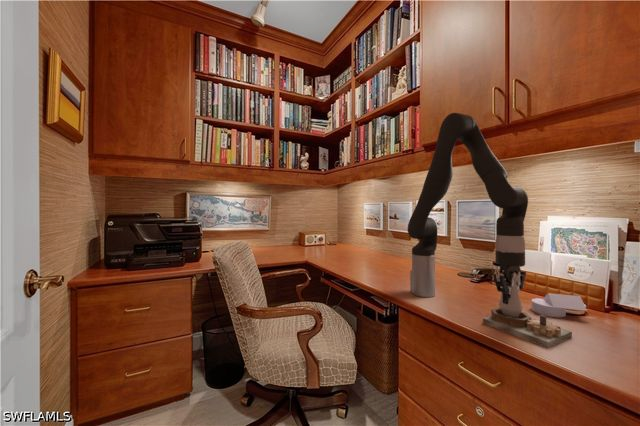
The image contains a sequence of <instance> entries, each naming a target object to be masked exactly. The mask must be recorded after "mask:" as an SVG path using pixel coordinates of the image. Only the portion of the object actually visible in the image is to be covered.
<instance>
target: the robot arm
mask: <svg viewBox="0 0 640 426" xmlns="http://www.w3.org/2000/svg"><path fill="white" fill-rule="evenodd" d="M436 140H437V141H436V145H435V149H434V150H435V151H434V152H433V155H432V158H431V162H430V165H429V168H428V172H427V174H426V177H425V180H424V183H423V185H422V186H423V187H422V189H421V192H420V195H419V198H418V200H417V203H416V206H415V208H414V210H413V212H412V214H411V216H410V219H409V220H408V223H407V234H408V236H409V237H410V238H411V239H413V240H418V242H417V244H415V245H414V246H413V247H412V248H411V270H410V274H409V275H410V277H409V279H410V281H409V282H410V289H409V290H410V293H412V294H413V295H414V296H417V297H420V298H421V297H422V298H432V297H436V257H435V256H436V249H437V246H438V225H437V221H436V220H435V219H433V218H432V217H429V216H430V214H431V212H432V210H433V209H434V207H436V206H437V205H438V203H439V202H440V201H441V200H442V199H443V198H444V197H445V195H446V194H447V193H448V191H449V188H450V185H451V182H452V180H453V174H454V173H453V171H454V170H453V169H454V168H453V161H452V160H453V159H452V157H453V151H454V149H455V146H456V143H457V141H458V142H459V141H460V142H461V143H462V144H463V145H464V146H465V147H466V149H467V150H468V152H469V153H470V154H469V155H470V158H471V163H472V166H473V168H474V170H475V172H476V174H477V175H478V176H479V178H480V180H481V181H482V182H483V183H484V187H485V189H486V192H487V193H486V194H487V195H488V197H489V199H490V201H491V202H492V204H494V205H495V206H496V207H498V208H499V209H502V213H501V215H500V216H499V217H498V218H496V222H495V224H496V225H495V227H496V228H495V232H496V233H495V234H496V235H495V240H494V241H495V243H494V244H495V246H494V247H495V248H494V249H495V253H494V255H495V257H494V258H495V263H496V264H497V265H498V266H499V270H498V271H499V272H498V274H497V273H496V274H495V273H494V274H493V279H494V283H495V287H496V290H497V292H499V293H501V294H502V293H503V303H505V304H507V305H508V299H509V298H511V292H512V287H514V278H515V277H516V274H517V275H518V276H519V281H518V282H516V284H517V288H518V292H520V291H521V290H523V289H524V285H525V279H526V275H527V274H526V271H525V270H524V271H523V270H521V267H525V266H526V241H525V224H524V222H525V218H526V214H527V211H528V206H529V198H528V194H527V191H526V190H525V189H524V188H522V187H519V186H512V185H511V184H510V183H509V181H508V179H507V178H508V176H509V175H508V172H507V170H506V169H505V168H504V166H503V165H502V164H501V162H500V161H499V159H498V158H497V157H496V155H495V154H494V152H493V151H492V150H491V148H490V147H489V145H488V143H487V141H486V139H485V137H484V135H483V134H482V131H481V130H480V127H479V125H478V123H477V121H476V120H475V118H474V117H472V116H471V115H468V114H463V113H459V112H451V113H448V115H447V116H445V117H444V119H443V120H442V121H441V124H440V127H439V132H438V136H437V139H436ZM506 282H508V283H510V284H507V283H506ZM507 286H508V289H507ZM505 301H506V302H505Z"/></svg>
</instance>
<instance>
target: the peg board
mask: <svg viewBox="0 0 640 426" xmlns="http://www.w3.org/2000/svg"><path fill="white" fill-rule="evenodd" d="M490 312H491V313H490V314H491V315H489V316H486V317H482V324H484V325H487V326H490V327H493V328H495V329H498V330H500V331H503V332H505V333H508V334H511V335H513V336H516V337H519V338H522V339H524V340H526V341H529V342H532V343H535V344H536V345H540V346H543V347H545V348H548V349H549V348H552V347H553V346H556V345H558V344H560V343H562V342H564V341H566V340H569V339H570V338H572V337H573V331H571V330H567V329H565V328H561V326H560V325H559V324H557V325H556V324H553V322H550V321H547V316H546V315H542V314H539V319H538V318H536V319H535V318H534V319H533V318H532V317H531V316H530V315H529V314H528V313H526V312H523V311H521V313H520V315H519V316H518V317H511V316H506V315H504V314H503V313H502V311H501V309H500V307H495V308H492V309H491V310H490Z"/></svg>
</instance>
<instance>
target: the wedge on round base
mask: <svg viewBox="0 0 640 426" xmlns="http://www.w3.org/2000/svg"><path fill="white" fill-rule="evenodd" d="M567 309H568V310H577V311H585V312H588V309H587V307H586V305H585V303H584V301H583V299H582V297H581V296H580V295H572V294H571V295H570V294H562V293H549V292H548V293H547V294H546V295H545V296H544V297H543V298H537V297H535V298H532V299H531V311H533V312H534V313H536V314H538V315H544V316H546V317H551V318H552V317H553V318H565V317H566V316H567Z"/></svg>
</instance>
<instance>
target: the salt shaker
mask: <svg viewBox="0 0 640 426" xmlns="http://www.w3.org/2000/svg"><path fill="white" fill-rule="evenodd" d="M518 281H519V276H518V275H517V274H516V277H515V278H514V287H512V292H511V298H509V299H508V305H507V304H505V303H503V293H502V292H501V294H500V299H499V302H498V306H499V307H498V308H500V309H501V311H502V313H503V314H504V315H506V316H511V317H518V316H519V315H520V313H521V312H523V306H522V301H521V298H520V293H519V292H520V291H519V292H518V288H517V284H516V282H518ZM506 283H507V284H510V283H508V282H506ZM507 289H508V286H507ZM505 302H506V301H505Z"/></svg>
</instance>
